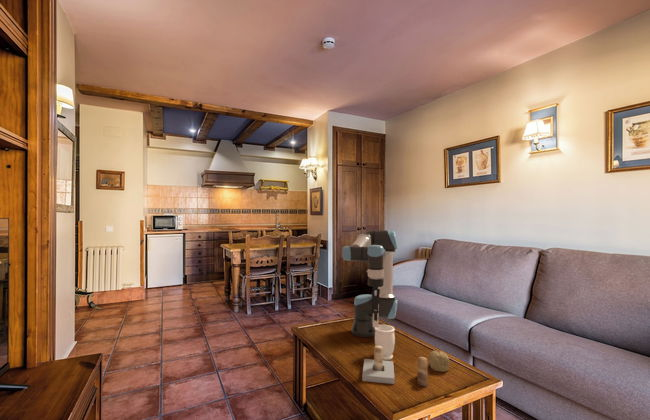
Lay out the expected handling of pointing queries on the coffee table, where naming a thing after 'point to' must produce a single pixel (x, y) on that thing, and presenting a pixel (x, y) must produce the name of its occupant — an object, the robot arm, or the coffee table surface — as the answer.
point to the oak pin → (422, 364)
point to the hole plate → (378, 372)
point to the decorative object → (439, 361)
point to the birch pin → (378, 358)
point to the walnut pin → (422, 378)
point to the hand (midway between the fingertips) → (375, 321)
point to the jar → (385, 340)
